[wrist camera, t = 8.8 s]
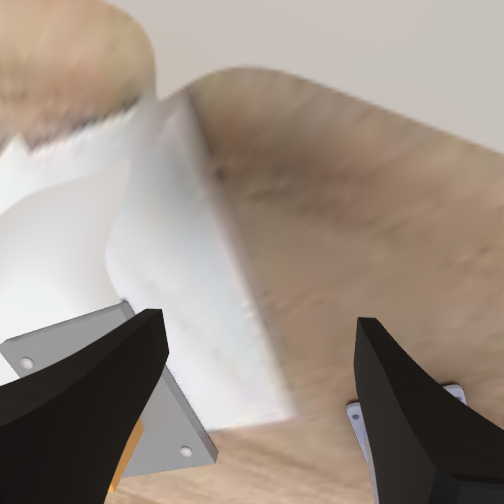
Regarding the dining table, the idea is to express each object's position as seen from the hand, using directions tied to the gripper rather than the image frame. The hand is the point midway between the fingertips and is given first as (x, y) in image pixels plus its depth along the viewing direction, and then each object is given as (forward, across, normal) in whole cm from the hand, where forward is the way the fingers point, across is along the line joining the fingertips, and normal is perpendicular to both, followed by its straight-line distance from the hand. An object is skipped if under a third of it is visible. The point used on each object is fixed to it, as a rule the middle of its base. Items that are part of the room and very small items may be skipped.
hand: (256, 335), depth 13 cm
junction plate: (+10, +14, +15) cm, 22 cm away
